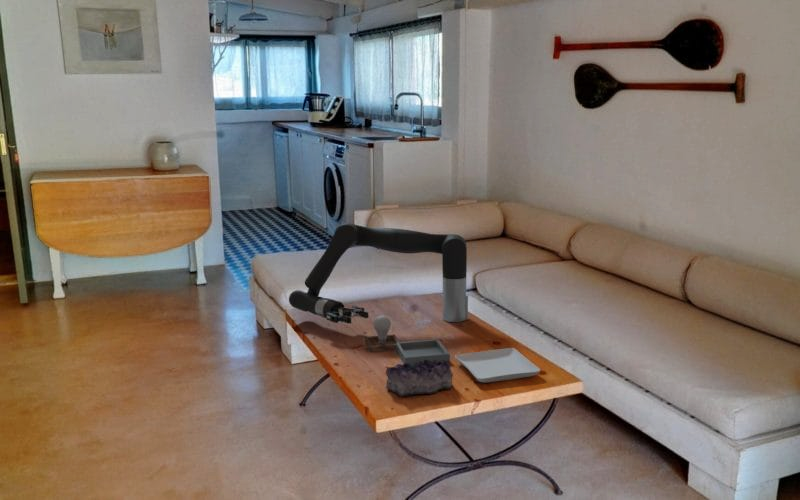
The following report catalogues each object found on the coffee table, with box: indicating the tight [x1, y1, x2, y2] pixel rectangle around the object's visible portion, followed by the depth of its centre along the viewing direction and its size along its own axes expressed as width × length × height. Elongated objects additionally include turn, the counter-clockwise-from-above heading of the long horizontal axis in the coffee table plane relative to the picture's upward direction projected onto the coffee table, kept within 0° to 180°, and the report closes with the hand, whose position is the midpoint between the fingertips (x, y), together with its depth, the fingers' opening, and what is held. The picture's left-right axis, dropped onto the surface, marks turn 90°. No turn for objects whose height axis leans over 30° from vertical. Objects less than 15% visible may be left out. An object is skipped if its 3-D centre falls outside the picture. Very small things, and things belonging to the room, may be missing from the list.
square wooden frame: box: [364, 334, 400, 353], centre depth 248 cm, size 11×11×2 cm
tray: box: [395, 338, 451, 365], centre depth 237 cm, size 15×15×3 cm
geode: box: [385, 360, 454, 397], centre depth 210 cm, size 20×12×10 cm, turn 108°
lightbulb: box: [372, 314, 392, 345], centre depth 247 cm, size 6×6×11 cm
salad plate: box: [454, 347, 541, 383], centre depth 223 cm, size 21×21×3 cm
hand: (359, 318), depth 254 cm, fingers open, 8 cm apart
